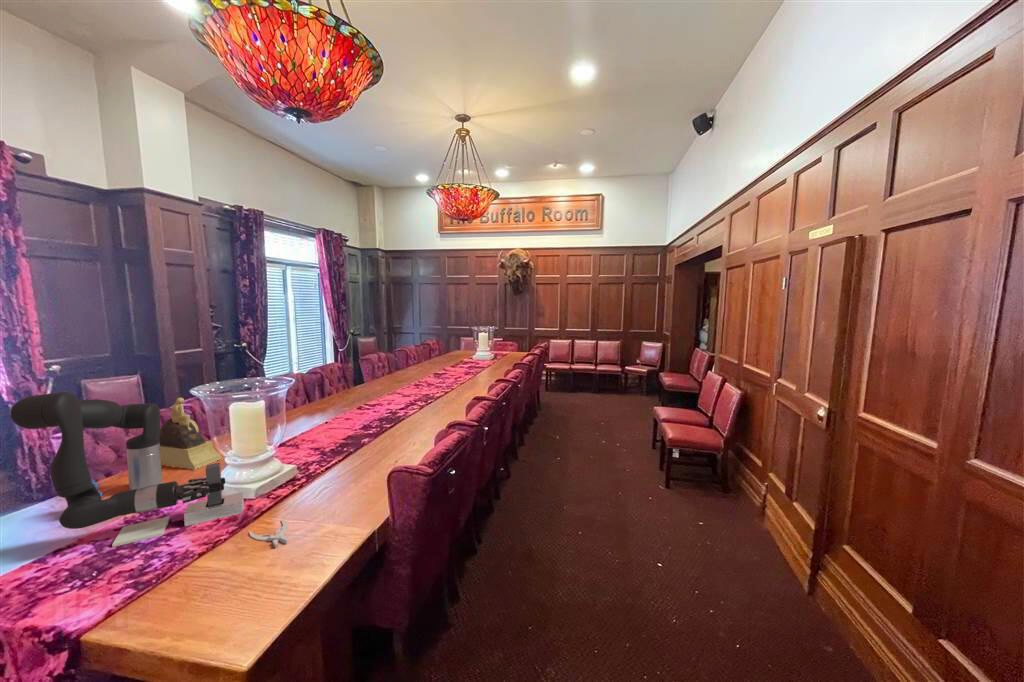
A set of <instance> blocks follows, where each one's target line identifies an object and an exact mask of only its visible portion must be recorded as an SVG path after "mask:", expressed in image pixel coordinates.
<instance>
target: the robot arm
mask: <svg viewBox="0 0 1024 682" xmlns="http://www.w3.org/2000/svg"><path fill="white" fill-rule="evenodd" d="M9 414H10V418H11V420H12V422H13V424H15V425H17V426H18V427H20V428H23V429H27V430H37V429H39V430H41V429H45V428H53V427H54V428H56V427H58V428H59V430H60V433H61V441H60V444H59V448H58V449H57V451H56V453H55V455H54V457H53V459H52V461H51V464H50V468H49V473H50V479H51V481H52V485H53V489H54V491H55V493H56V495H57V496H58V497H60V498H64V499H65V501H66V503H67V507H65V509H64V510H63V511H62V513H61V515H60V516H59V524H60V525H61V526H62V527H63V528H66V529H70V530H71V529H72V530H76V529H84V528H88V527H91V526H95V525H97V524H100V523H103V522H106V521H109V520H111V519H114V518H117V517H121V516H125V515H131V514H135V513H143V512H149V511H154V510H158V509H164V508H169V507H174V506H176V505H178V502H179V501H181V500H182V504H185V503H189V502H190V503H191V502H193V501H195V500H200V499H204V498H207V495H208V494H210V493H212V492H217V491H222V492H223V491H224V489H225V484H226V478H225V477H221V484H216V485H211V486H210V487H209V486H207V483H206V477H202V478H201V477H200V478H195V479H194V478H193V479H191V478H190V479H189V480H187V481H188V482H186V483H184V484H181V485H179V484H178V483H179V482H177V481H176V480H174V481H169V482H164V483H163V470H162V469H163V466H161V452H160V429H161V410H160V407H159V405H158V404H157V403H154V402H153V403H152V402H151V403H150V402H149V403H135V404H134V403H131V404H122V405H120V404H119V403H118V402H115V401H112V400H107V399H106V400H105V399H97V398H96V399H93V398H92V399H79V398H78V397H77V395H75V394H74V393H72V392H70V391H60V392H52V393H45V394H36V395H31V396H30V395H29V396H25V397H24V398H22V399H20V400H18V401H17V402H15V404H13V406H12V407H11V409H10V413H9ZM111 427H114V428H119V429H124V430H125V429H126V430H135V429H136V430H137V429H142V433H141V434H139V435H136V436H133V437H131V438H129V439H128V440H126V442H125V446H126V447H125V448H126V459H127V475H128V487H129V490H124V491H120V492H116V493H114V494H113V495H111V496H110V497H108V498H105V499H102V496H100V494H99V492H98V491H99V490H98V488H97V489H96V487H95V486H94V484H93V483H92V480H91V478H92V476H91V473H90V471H89V470H90V469H89V467H88V463H87V459H86V453H85V442H84V440H85V439H84V429H108V428H111Z"/></svg>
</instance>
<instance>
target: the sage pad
mask: <svg viewBox="0 0 1024 682" xmlns="http://www.w3.org/2000/svg"><path fill="white" fill-rule="evenodd" d="M169 522H170V516H165V517H161V518H156V519H152V520H147V521H143V522H139V523H133V524H128V525H125V526H122V528H121V529H120V531H119V532H118V535H117V536H116V538H115V539H114V541H113V542H112V545H111V546H112V548H113V547H114V548H115V547H119V546H123V545H127V544H132V543H135V542H136V543H137V542H140V541H143V540H148V539H151V538H157V537H160V536H161V537H162V536H164V533H165V531H166V529H167V527H168V524H169Z"/></svg>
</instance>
